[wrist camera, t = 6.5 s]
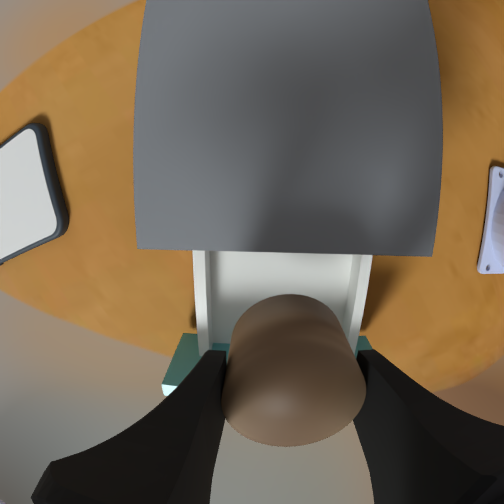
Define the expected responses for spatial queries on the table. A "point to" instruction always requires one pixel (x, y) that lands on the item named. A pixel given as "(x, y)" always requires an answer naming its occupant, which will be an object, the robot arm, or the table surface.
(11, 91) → the table surface
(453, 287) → the table surface
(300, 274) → the tray
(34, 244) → the smartphone
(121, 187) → the table surface
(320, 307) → the brown cork
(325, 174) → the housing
